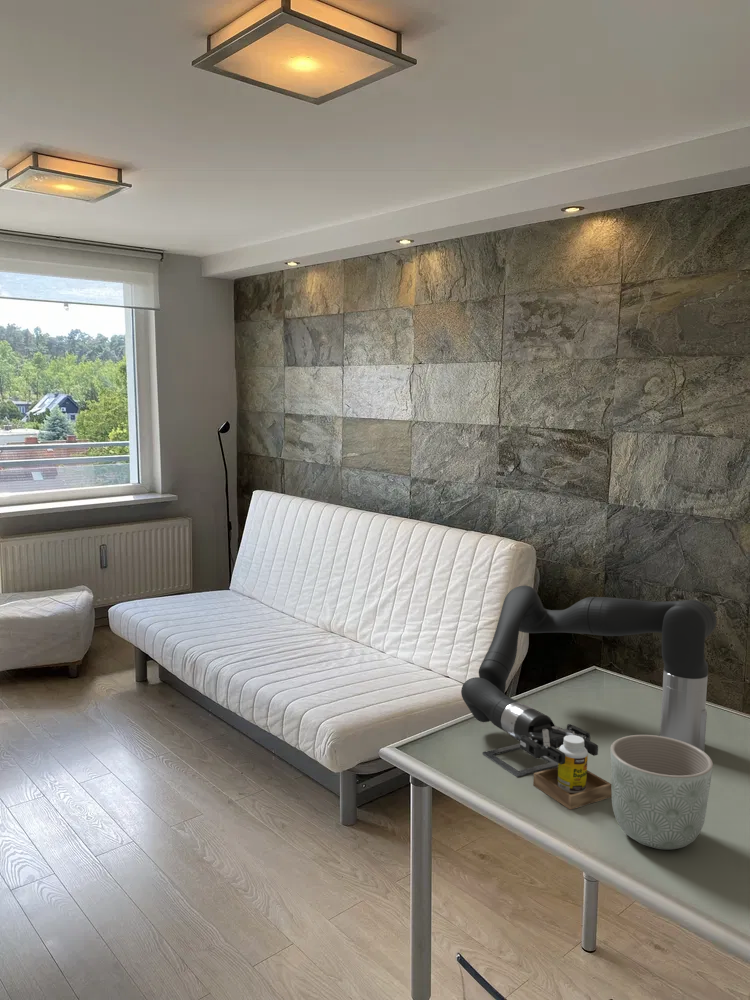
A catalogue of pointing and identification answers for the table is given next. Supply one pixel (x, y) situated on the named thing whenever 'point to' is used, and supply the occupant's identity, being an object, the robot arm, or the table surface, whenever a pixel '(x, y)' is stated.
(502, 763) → the grey square frame
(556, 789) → the tray
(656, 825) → the planter
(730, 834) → the table surface
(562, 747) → the supplement bottle
